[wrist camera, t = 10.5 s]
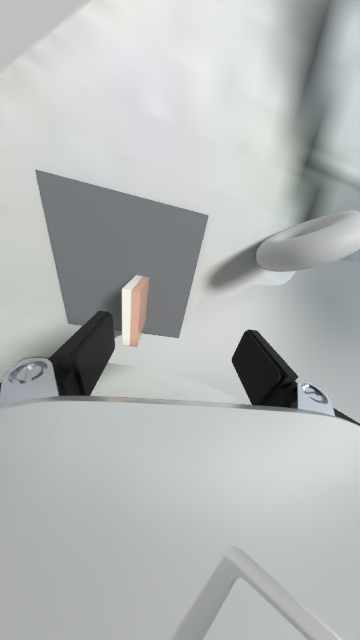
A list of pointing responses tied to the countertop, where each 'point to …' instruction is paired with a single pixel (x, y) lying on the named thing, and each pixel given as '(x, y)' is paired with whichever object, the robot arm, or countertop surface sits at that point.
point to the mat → (120, 251)
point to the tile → (134, 309)
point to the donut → (311, 243)
